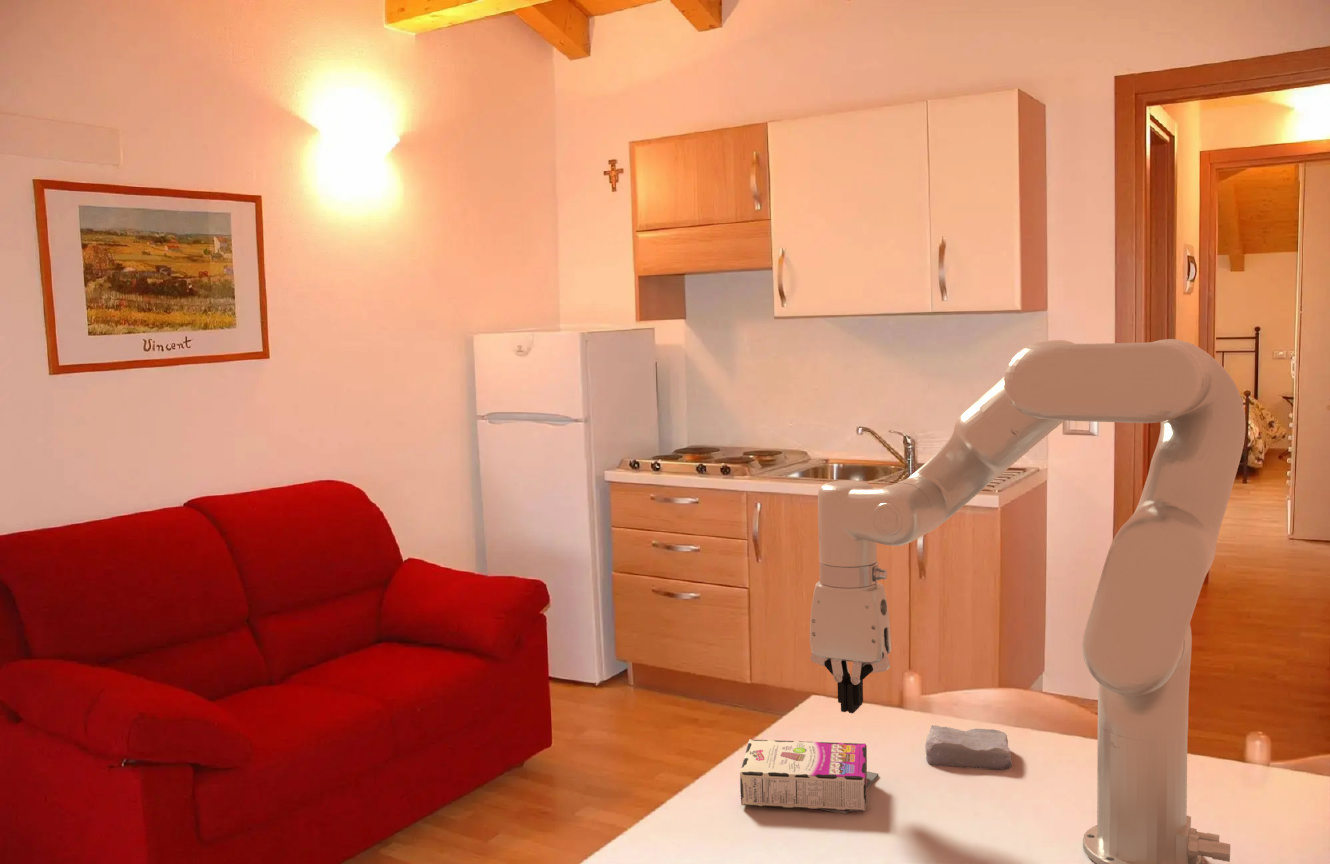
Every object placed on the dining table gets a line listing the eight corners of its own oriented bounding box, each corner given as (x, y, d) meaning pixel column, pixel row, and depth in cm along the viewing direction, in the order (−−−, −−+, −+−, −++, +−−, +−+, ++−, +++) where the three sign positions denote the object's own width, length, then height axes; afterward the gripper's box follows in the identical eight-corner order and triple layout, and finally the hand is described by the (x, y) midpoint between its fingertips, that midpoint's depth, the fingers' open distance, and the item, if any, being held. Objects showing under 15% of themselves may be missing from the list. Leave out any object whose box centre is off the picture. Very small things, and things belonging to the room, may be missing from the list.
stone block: (925, 753, 162) (924, 767, 153) (926, 721, 163) (925, 732, 153) (1008, 762, 159) (1012, 776, 150) (1009, 728, 160) (1012, 741, 150)
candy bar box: (867, 777, 149) (749, 770, 152) (867, 742, 148) (748, 736, 152) (866, 815, 138) (739, 806, 141) (866, 777, 137) (738, 770, 141)
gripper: (912, 573, 142) (913, 708, 144) (806, 564, 149) (809, 693, 151) (894, 586, 135) (896, 727, 137) (784, 576, 143) (787, 710, 144)
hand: (850, 709), depth 144 cm, fingers closed
